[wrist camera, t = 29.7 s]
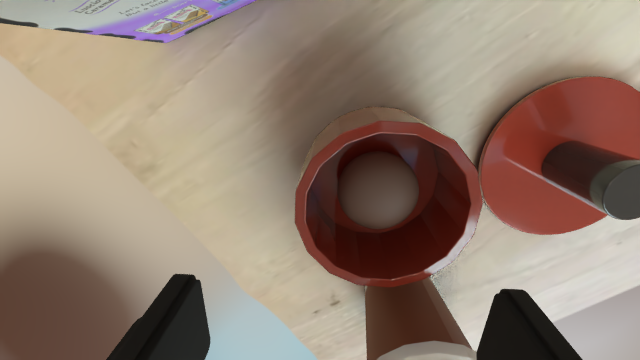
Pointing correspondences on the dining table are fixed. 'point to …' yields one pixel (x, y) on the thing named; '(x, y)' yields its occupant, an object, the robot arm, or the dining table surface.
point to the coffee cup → (412, 325)
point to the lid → (565, 157)
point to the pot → (411, 234)
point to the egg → (378, 190)
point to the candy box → (119, 16)
